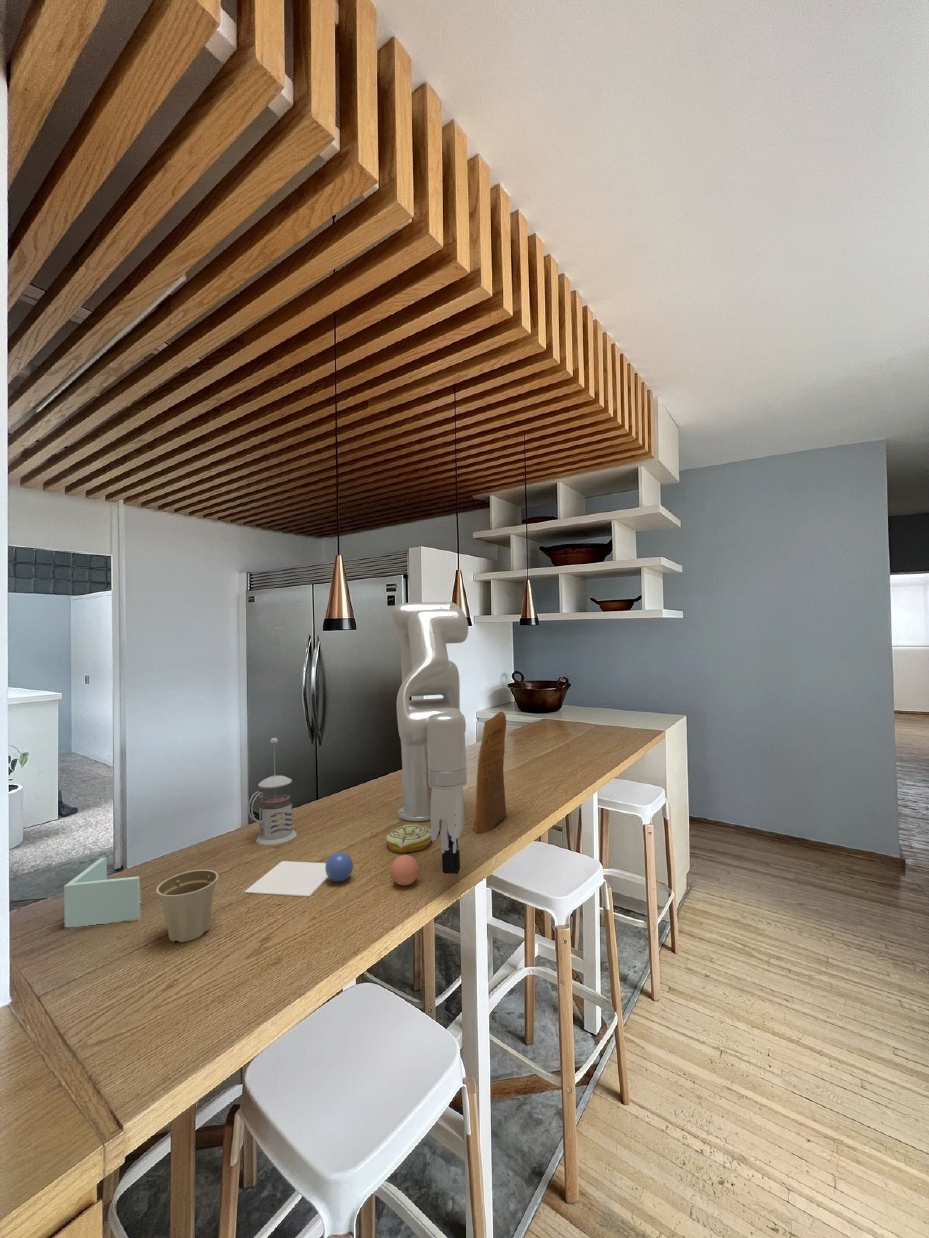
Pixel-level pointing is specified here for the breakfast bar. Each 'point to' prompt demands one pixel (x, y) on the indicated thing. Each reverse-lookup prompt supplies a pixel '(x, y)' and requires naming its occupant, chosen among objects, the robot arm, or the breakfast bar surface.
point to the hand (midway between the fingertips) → (451, 871)
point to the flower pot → (188, 903)
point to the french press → (274, 811)
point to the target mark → (291, 879)
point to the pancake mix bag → (491, 776)
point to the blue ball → (339, 866)
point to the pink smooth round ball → (404, 870)
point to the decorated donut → (408, 838)
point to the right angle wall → (100, 897)
